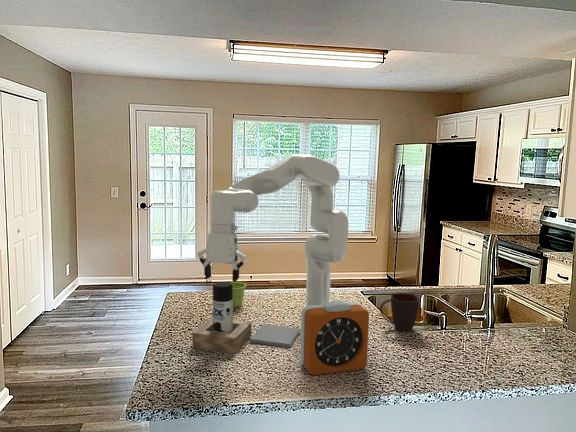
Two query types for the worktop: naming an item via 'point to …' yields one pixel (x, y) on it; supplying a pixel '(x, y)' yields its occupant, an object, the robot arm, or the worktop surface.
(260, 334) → the slate coaster
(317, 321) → the alarm clock
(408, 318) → the cup
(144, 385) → the worktop surface
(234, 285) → the plant pot
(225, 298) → the spray can
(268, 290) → the worktop surface
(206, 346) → the walnut collar
